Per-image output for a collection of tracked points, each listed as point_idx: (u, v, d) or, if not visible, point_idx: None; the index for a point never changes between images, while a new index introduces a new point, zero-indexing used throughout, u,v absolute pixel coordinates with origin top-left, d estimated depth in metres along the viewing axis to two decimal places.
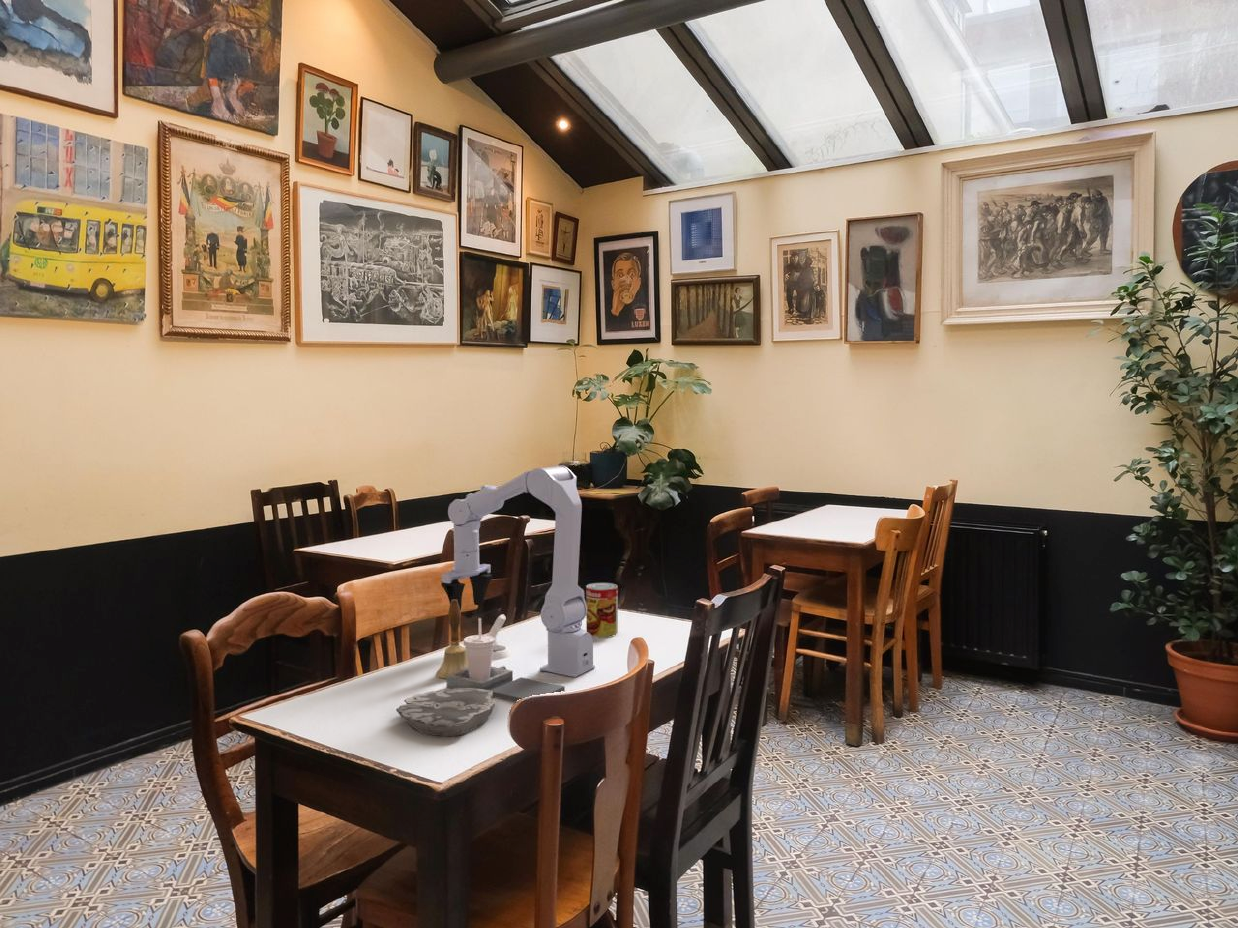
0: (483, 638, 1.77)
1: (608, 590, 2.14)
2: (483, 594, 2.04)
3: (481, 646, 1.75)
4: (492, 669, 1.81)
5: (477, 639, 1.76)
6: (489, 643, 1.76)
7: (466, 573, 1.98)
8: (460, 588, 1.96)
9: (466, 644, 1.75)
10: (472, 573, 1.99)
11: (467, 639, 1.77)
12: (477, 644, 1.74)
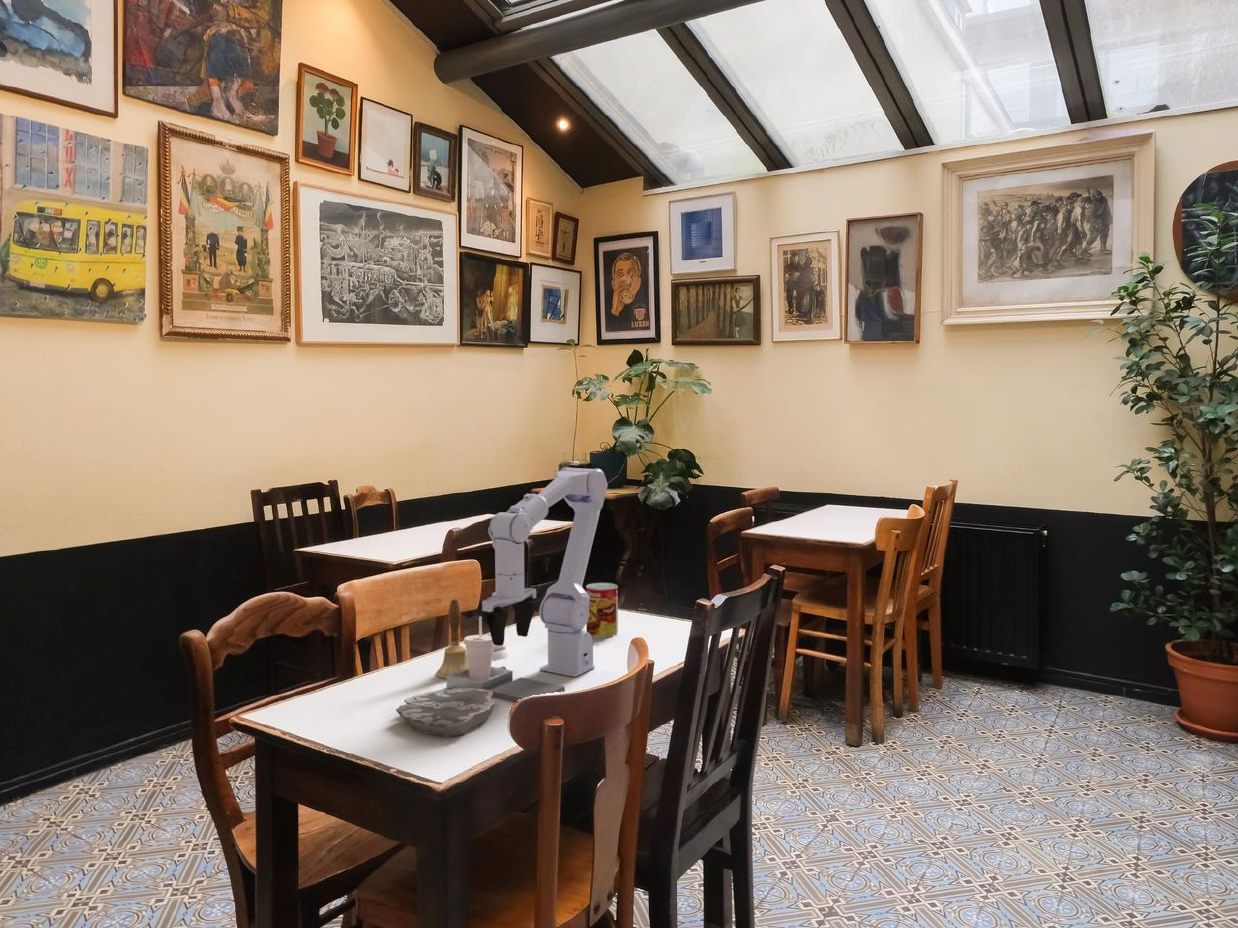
0: (483, 637, 1.78)
1: (608, 590, 2.14)
2: (528, 623, 1.76)
3: (481, 644, 1.75)
4: (492, 669, 1.81)
5: (477, 638, 1.77)
6: (489, 641, 1.76)
7: (510, 600, 1.69)
8: (503, 617, 1.68)
9: (466, 642, 1.76)
10: (517, 600, 1.70)
11: (467, 638, 1.78)
12: (477, 642, 1.75)
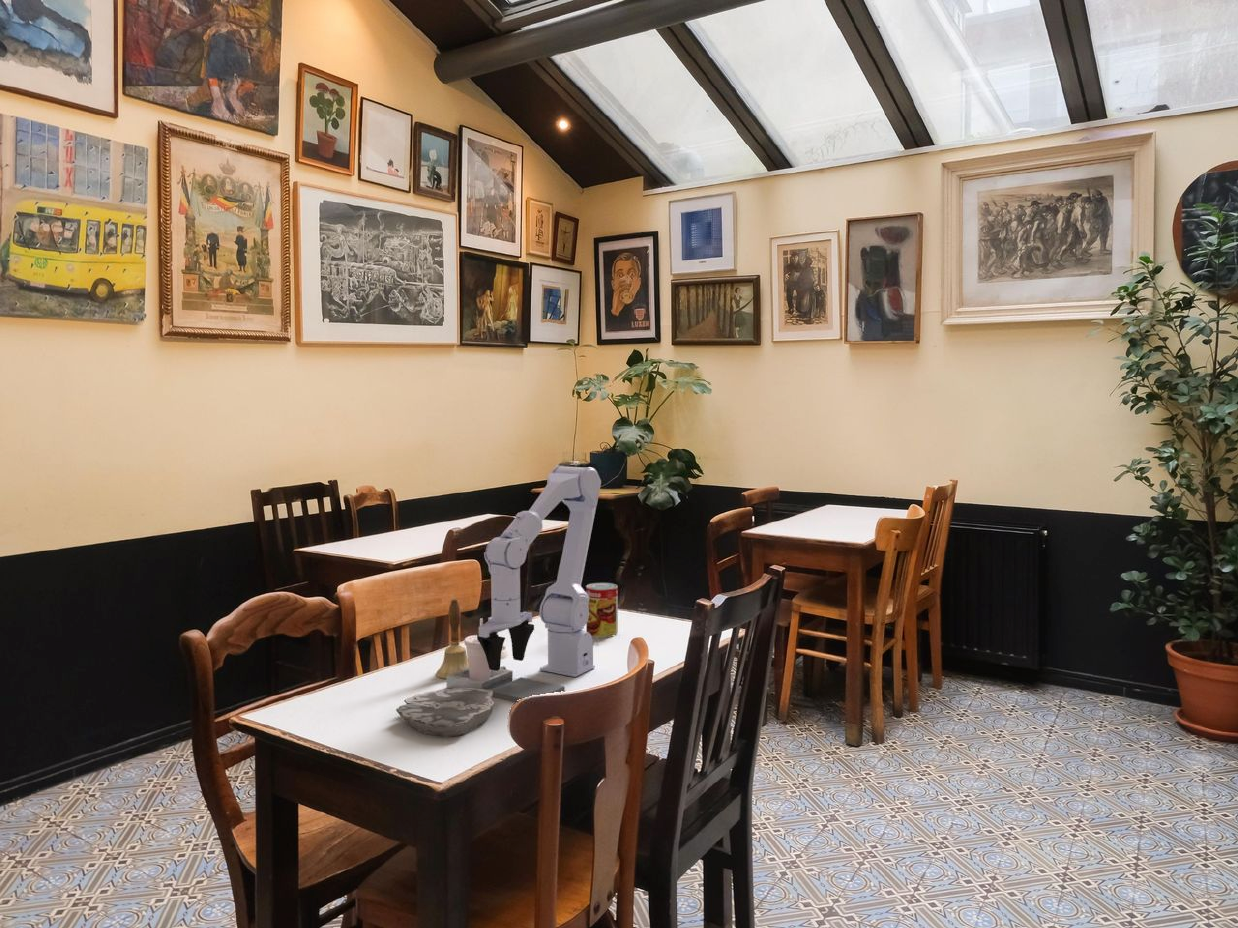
0: None
1: (608, 590, 2.14)
2: (524, 647, 1.76)
3: None
4: None
5: None
6: None
7: (506, 625, 1.70)
8: (499, 643, 1.68)
9: (467, 644, 1.75)
10: (513, 625, 1.71)
11: (468, 639, 1.77)
12: (478, 644, 1.74)
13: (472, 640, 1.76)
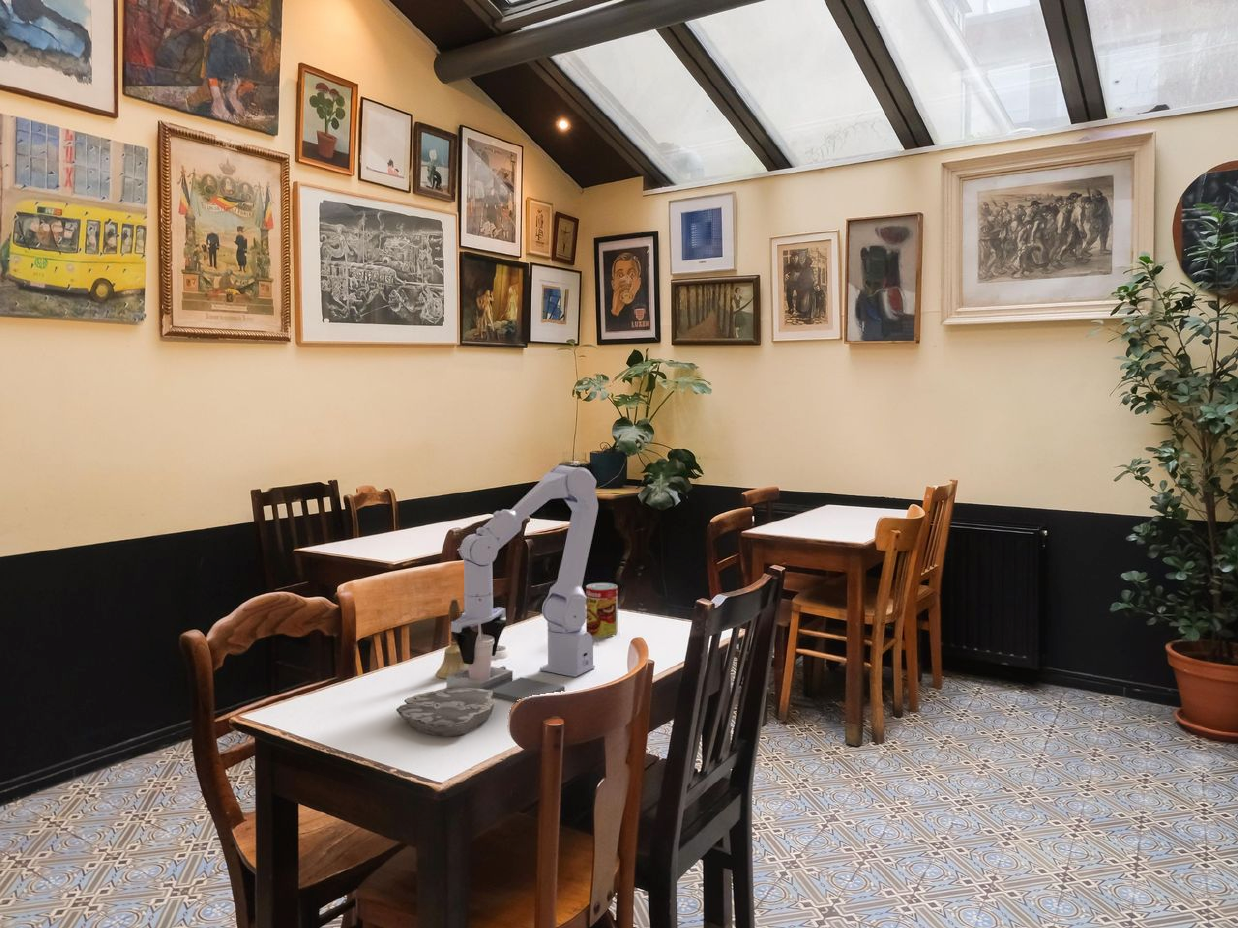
0: (483, 638, 1.77)
1: (608, 590, 2.14)
2: (495, 643, 1.80)
3: (481, 646, 1.75)
4: (492, 669, 1.81)
5: (477, 639, 1.76)
6: (489, 642, 1.76)
7: (478, 620, 1.74)
8: (473, 637, 1.72)
9: None
10: (485, 620, 1.75)
11: None
12: (477, 644, 1.75)
13: None
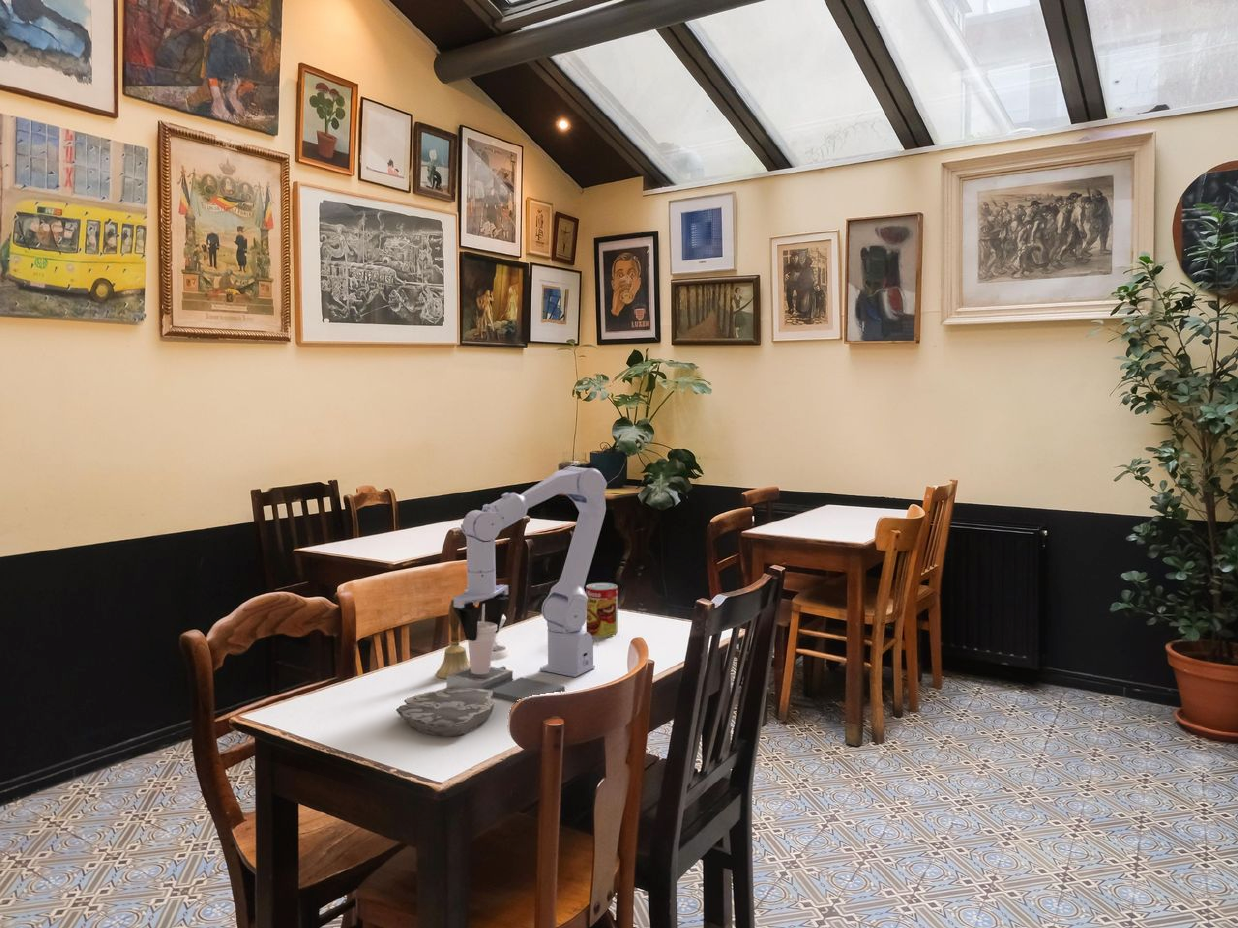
0: (486, 624, 1.77)
1: (608, 590, 2.14)
2: (499, 620, 1.79)
3: (484, 631, 1.74)
4: (492, 669, 1.81)
5: (480, 625, 1.76)
6: (492, 629, 1.75)
7: (481, 596, 1.73)
8: (475, 613, 1.72)
9: None
10: (488, 596, 1.74)
11: None
12: (480, 629, 1.74)
13: None
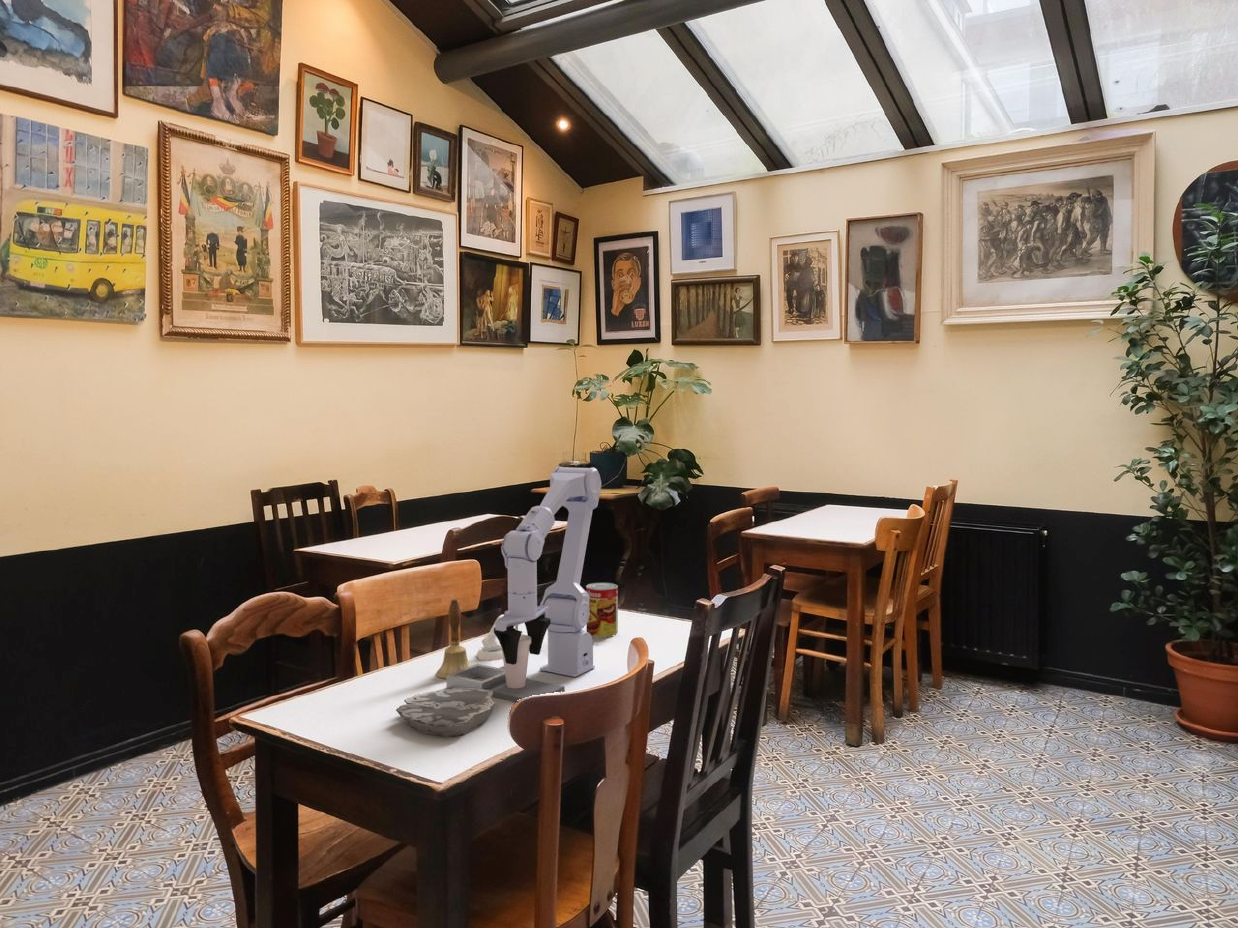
0: (520, 637, 1.74)
1: (608, 590, 2.14)
2: (540, 641, 1.75)
3: (520, 645, 1.71)
4: (492, 669, 1.81)
5: None
6: (527, 642, 1.73)
7: (523, 619, 1.69)
8: (516, 637, 1.67)
9: None
10: (530, 618, 1.70)
11: None
12: None
13: None
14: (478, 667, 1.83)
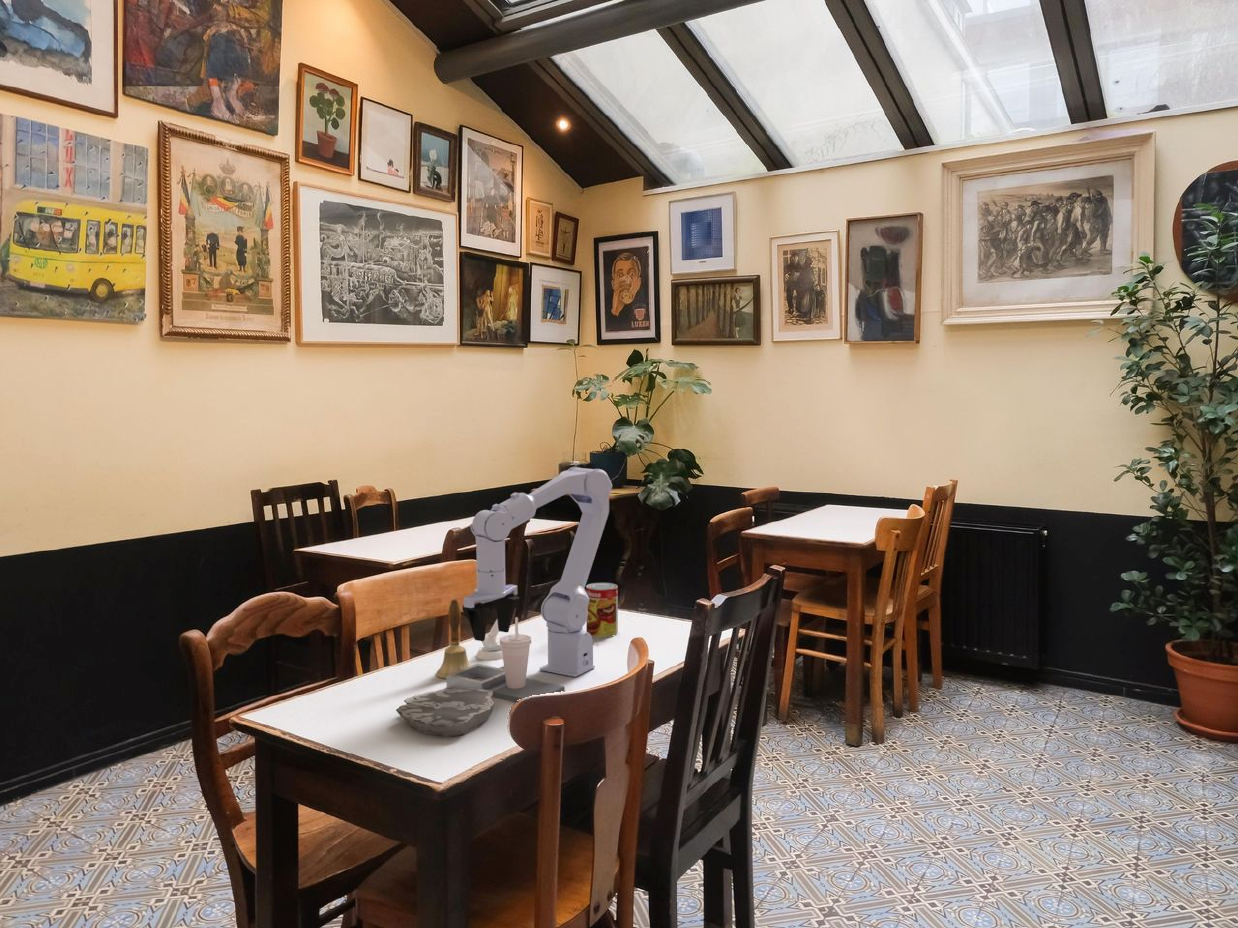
0: (520, 637, 1.74)
1: (608, 590, 2.14)
2: (509, 619, 1.79)
3: (520, 645, 1.71)
4: (492, 669, 1.81)
5: (514, 639, 1.73)
6: (527, 642, 1.72)
7: (491, 596, 1.73)
8: (484, 613, 1.71)
9: (504, 644, 1.72)
10: (498, 596, 1.74)
11: (503, 639, 1.74)
12: (516, 644, 1.71)
13: (508, 640, 1.73)
14: (478, 667, 1.83)
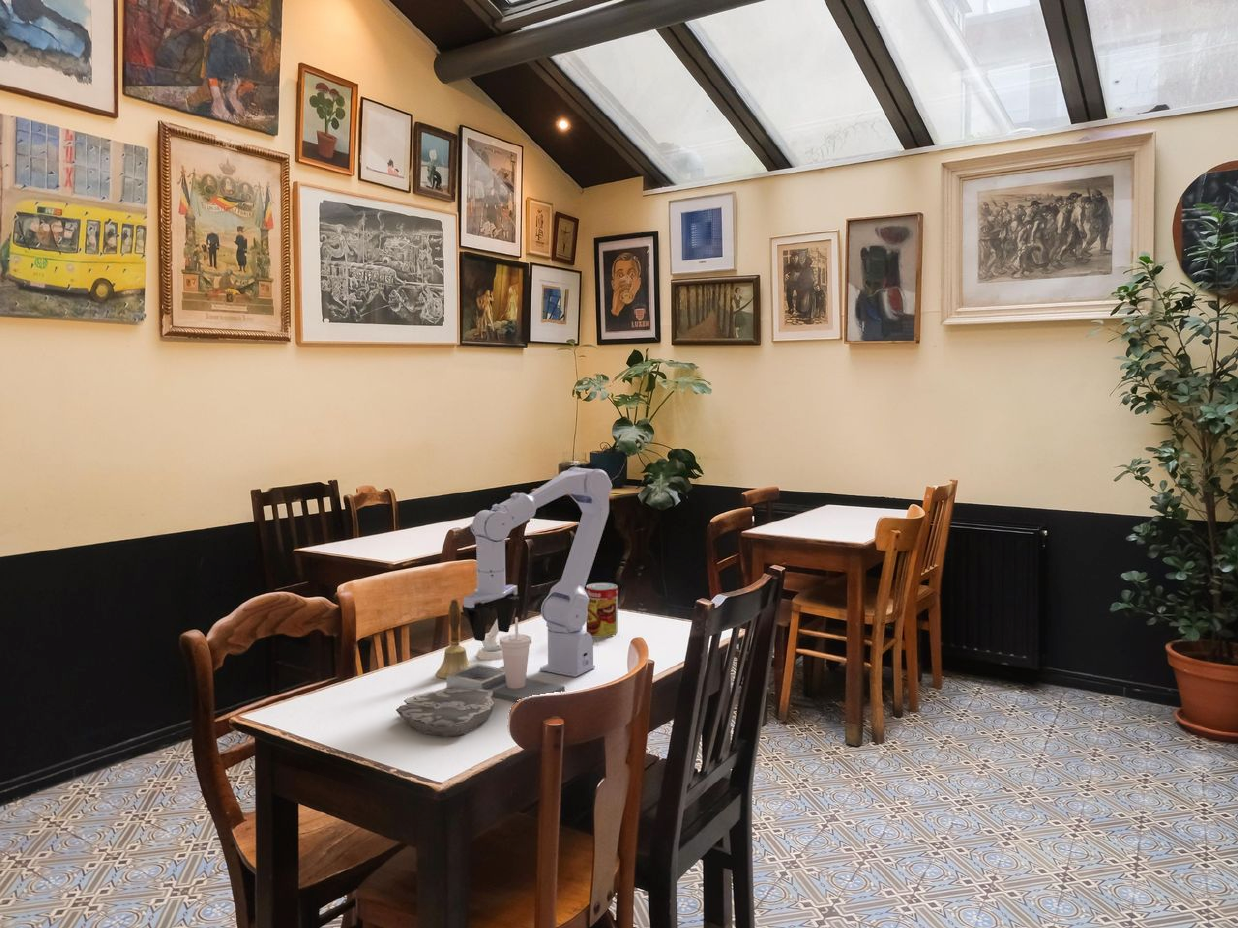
0: (520, 637, 1.74)
1: (608, 590, 2.14)
2: (509, 619, 1.79)
3: (520, 645, 1.71)
4: (492, 669, 1.81)
5: (514, 638, 1.73)
6: (527, 642, 1.72)
7: (491, 596, 1.73)
8: (484, 613, 1.71)
9: (504, 644, 1.72)
10: (498, 596, 1.74)
11: (503, 639, 1.74)
12: (516, 644, 1.71)
13: (508, 640, 1.73)
14: (478, 667, 1.83)
